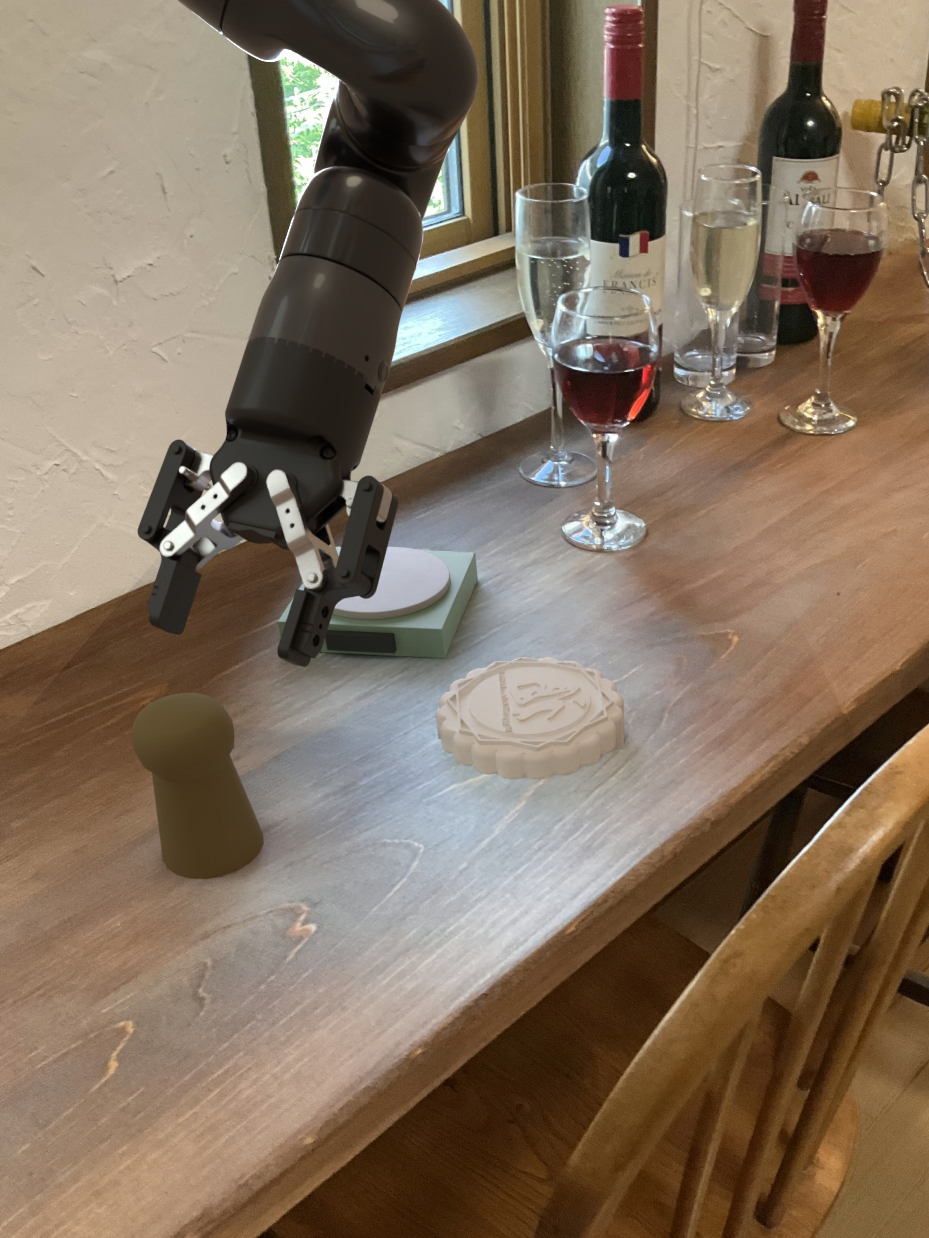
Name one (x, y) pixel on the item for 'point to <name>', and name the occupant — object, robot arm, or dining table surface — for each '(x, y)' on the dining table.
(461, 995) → the dining table surface
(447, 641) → the scale
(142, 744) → the cork
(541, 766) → the mooncake
